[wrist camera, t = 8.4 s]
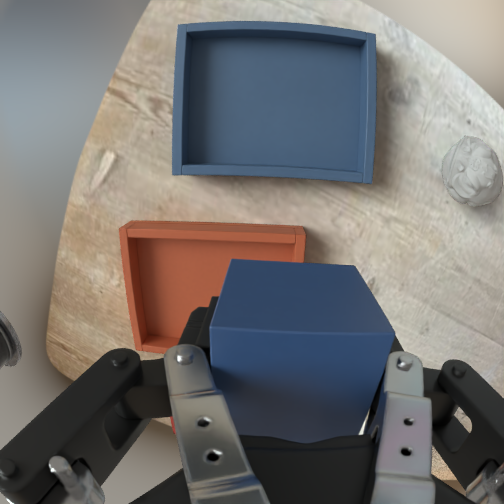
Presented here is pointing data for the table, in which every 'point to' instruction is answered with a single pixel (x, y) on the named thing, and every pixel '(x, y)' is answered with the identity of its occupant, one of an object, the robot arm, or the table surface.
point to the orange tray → (189, 269)
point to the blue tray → (274, 101)
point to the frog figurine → (472, 172)
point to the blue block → (298, 348)
